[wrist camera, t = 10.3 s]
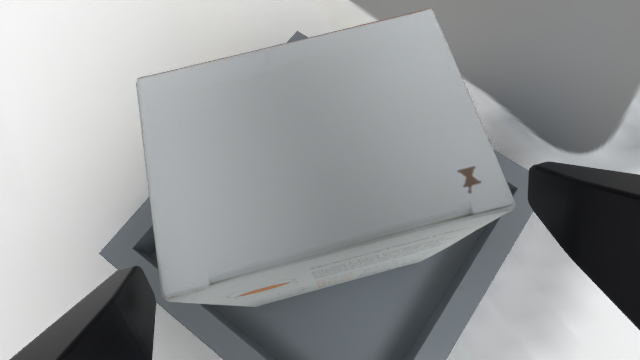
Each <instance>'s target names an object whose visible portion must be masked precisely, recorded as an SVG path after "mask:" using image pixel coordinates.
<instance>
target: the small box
mask: <svg viewBox="0 0 640 360" xmlns="http://www.w3.org/2000/svg"><path fill="white" fill-rule="evenodd" d="M136 86H137V94H138V103H139V112H140V120H141V129H142V138H143V146H144V154H145V163H146V171H147V180H148V188H149V197H150V205H151V214H152V222H153V230H154V238H155V246H156V254H157V262H158V270H159V278H160V288H161V295H162V298H163V299H164V300H165V301H168V302H182V303H196V304H211V305H230V306H246V307H258V306H261V305H265V304H268V303H272V302H275V301H279V300H283V299H286V298H290V297H293V296H297V295H301V294H304V293H308V292H312V291H315V290H319V289H323V288H326V287H330V286H333V285H337V284H341V283H344V282H348V281H352V280H355V279H359V278H363V277H366V276H370V275H374V274H377V273H381V272H384V271H388V270H392V269H395V268H399V267H403V266H406V265H411V264H415V263H419V262H421V261H423V260H425V259H427V258H429V257H431V256H433V255H434V254H436V253H438V252H440V251H441V250H443V249H445V248H447V247H449V246H451V245H452V244H454V243H456V242H457V241H459V240H461V239H462V238H464V237H466V236H467V235H469V234H471V233H472V232H474V231H475V230H477V229H479V228H481V227H483V226H485V225H487V224H488V223H490V222H492V221H494V220H495V219H497V218H499V217H501V216H502V215H504V214H506V213H508V212H510V211H512V210H514V209H515V207H516V202H515V200H514V198H513V196H512V194H511V191H510V189H509V186H508V184H507V182H506V179H505V177H504V175H503V172H502V170H501V167H500V165H499V162H498V160H497V157H496V155H495V153H494V151H493V149H492V146H491V144H490V141H489V139H488V137H487V134H486V132H485V130H484V127H483V125H482V123H481V120H480V118H479V116H478V113H477V111H476V109H475V106H474V104H473V102H472V99H471V97H470V95H469V93H468V90H467V88H466V86H465V83H464V81H463V79H462V76H461V74H460V72H459V69H458V67H457V65H456V63H455V60H454V57H453V55H452V53H451V50H450V48H449V46H448V44H447V41H446V39H445V37H444V35H443V32H442V31H441V29H440V26H439V24H438V22H437V20H436V17H435V14H434V12H433V10H431V9H425V10H421V11H418V12H414V13H410V14H405V15H402V16H398V17H393V18H389V19H385V20H381V21H376V22H372V23H368V24H363V25H359V26H356V27H352V28H348V29H343V30H339V31H335V32H331V33H327V34H323V35H318V36H314V37H310V38H306V39H302V40H298V41H294V42H290V43H285V44H281V45H276V46H272V47H269V48H264V49H260V50H256V51H252V52H248V53H243V54H239V55H235V56H231V57H226V58H222V59H218V60H213V61H209V62H205V63H201V64H197V65H193V66H189V67H184V68H180V69H176V70H172V71H167V72H163V73H159V74H154V75H150V76H145V77H141V78H138V80H137V82H136Z"/></svg>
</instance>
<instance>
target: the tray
mask: <svg viewBox="0 0 640 360" xmlns="http://www.w3.org/2000/svg"><path fill="white" fill-rule="evenodd" d="M306 38H308V37H306V36H305V35H303V34H301V33H300V32H298V31H297V32H296V33H295V34H294V35H293V36H292V38H291V39H290V40H289V41H288V42H287V43H290V42H294V41H298V40H302V39H306ZM493 151H494V153H495V155H496V157H497V160H498V162H499V165H500V167H501V170H502V172H503V175H504V177H505V179H506V182H507V184H508V186H509V189H510V191H511V194H512V196H513V198H514V200H515V202H516V207H515V209H514V210H512V211H510V212H508V213H506V214H504V215H502V216H501V217H499V218H497V219H495V220H494V221H492V222H490V223H488V224H487V225H485V226H483V227H481V228H479V229H477V230H475V231H474V232H472V233H471V234H469V235H467V236H466V237H464V238H462V239H461V240H459V241H457V242H456V243H454V244H452V245H451V246H449V247H447V248H445V249H443V250H441V251H440V252H438V253H436V254H434V255H433V256H431V257H429V258H427V259H425V260H423V261H421V262H419V263H415V264H411V265H406V266H403V267H399V268H395V269H392V270H388V271H384V272H381V273H377V274H374V275H370V276H366V277H363V278H359V279H355V280H352V281H348V282H344V283H341V284H337V285H333V286H330V287H326V288H323V289H319V290H315V291H312V292H308V293H304V294H301V295H297V296H293V297H290V298H286V299H283V300H279V301H275V302H272V303H268V304H265V305H261V306H258V307H246V306H230V305H211V304H196V303H182V302H168V301H165V300H164V299H163V298H162V295H161V288H160V278H159V270H158V262H157V254H156V246H155V238H154V230H153V222H152V214H151V205H150V197H149V198H148V199H147V200H146V201H145V203H144V204H143V205H142V206H141V207H140V208H139V209H138V210H137V212H136V213H135V214H134V215H133V216H132V217H131V218H130V219H129V220H128V222H127V223H126V224H125V225H124V226H123V227H122V228H121V229H120V231H119V232H118V233H117V234H116V235H115V236H114V237H113V238H112V240H111V241H110V242H109V243H108V244H107V245H106V246H105V247H104V249H103V250H102V251H101V252H100V253H99V254H100V255H101V256H103V257H104V258H105V259H106V260H107V261H109V262H110V263H111V264H112V265H113V266H114V267H116V268H117V269H118V270H119V269H122V268H126V267H130V266H134V265H138V266H140V267H141V268H142V269H143V271H144V273H145V275H146V277H147V279H148V281H149V284H150V286H151V288H152V290H153V292H154V294H155V298H156V302H157V303H158V304H159V305H160V306H161V307H163V308H164V309H165V310H166V311H167V312H168V313H170V314H171V315H172V316H173V317H174V318H175V319H177V320H178V321H179V322H180V323H181V324H182V325H184V326H185V327H186V328H187V329H188V330H190V331H191V332H192V333H193V334H194V335H195V336H197V337H198V338H199V339H200V340H201V341H202V342H204V343H205V344H206V345H207V346H208V347H209V348H211V349H212V350H213V351H214V352H215V353H217V354H218V355H219V356H220V357H221V358H222V359H224V360H446V359H447V357H448V355H449V354H450V352H451V350H452V348H453V347H454V345H455V343H456V342H457V340H458V338H459V337H460V335H461V333H462V331H463V330H464V328H465V326H466V325H467V323H468V321H469V320H470V318H471V316H472V314H473V313H474V311H475V309H476V308H477V306H478V304H479V302H480V301H481V299H482V297H483V296H484V294H485V292H486V291H487V289H488V287H489V285H490V284H491V282H492V280H493V279H494V277H495V275H496V274H497V272H498V270H499V268H500V267H501V265H502V263H503V262H504V260H505V258H506V257H507V255H508V253H509V251H510V250H511V248H512V246H513V245H514V243H515V241H516V240H517V238H518V236H519V234H520V233H521V231H522V229H523V228H524V226H525V224H526V222H527V221H528V219H529V217H530V216H531V214H532V212H533V210H532V208H531V207H530V205H529V202H528V174H529V171H528V170H526V169H525V168H523V167H521V166H520V165H518V164H516V163H515V162H513V161H511V160H510V159H508V158H506V157H505V156H503V155H501V154H500V153H498V152H496V151H495V150H493Z"/></svg>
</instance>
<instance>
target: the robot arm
mask: <svg viewBox="0 0 640 360" xmlns="http://www.w3.org/2000/svg"><path fill="white" fill-rule="evenodd" d="M528 202H529V205H530V207H531V208H532V210H533V211H534V212H535V213H536V215H537V216H538V217H539V219H540V220H541V221H542V223H543V224H544V225H545V226H546V228H547V229H548V230H549V232H550V233H551V234H552V235H553V237H554V238H555V239H556V241H557V242H558V243H559V244H560V246H561V247H562V248H563V249H564V251H565V252H566V253H567V254H568V255H569V257H570V258H571V259H572V260H573V261H574V262H575V263H576V264H577V265H578V266H579V267H580V269H581V270H582V271H583V272H584V273H585V274H586V275H587V276H588V277H589V278H590V279H591V280H592V281H593V282H594V283H595V284H596V285H597V286H598V287H599V288H600V289H601V290H602V291H603V292H604V294H605V295H606V296H607V297H608V298H609V299H610V300H611V301H612V302H613V303H614V304H615V305H616V306H617V307H618V308H619V309H620V310H621V311H622V312H623V313H624V314H625V315H626V316H627V318H628V319H629V320H630V321H631V322H632V323H633V324H634V325H635V326H636V327H637V328H638V329H639V330H640V175H637V174H631V173H624V172H617V171H610V170H603V169H597V168H590V167H583V166H576V165H569V164H563V163H556V162H544V163H540V164H536V165H533V166H532V167H531V168H530V170H529V174H528ZM155 311H156V298H155V294H154V292H153V290H152V288H151V286H150V284H149V281H148V279H147V277H146V275H145V273H144V271H143V269H142V268H141V267H140V266H138V265H134V266H130V267H126V268H122V269H119V270H117V271H116V272H115V273H114V274H112V275H111V276H110V277H109V278H108V279H106V280H105V281H104V282H103V283H102V284H100V285H99V286H98V287H97V288H96V289H94V290H93V291H92V292H91V293H90V294H88V295H87V296H86V297H85V298H83V299H82V300H81V301H80V302H79V303H77V304H76V305H75V306H74V307H73V308H71V309H70V310H69V311H68V312H67V313H65V314H64V315H63V316H62V317H61V318H59V319H58V320H57V321H56V322H54V323H53V324H52V325H51V326H50V327H48V328H47V329H46V330H45V331H44V332H42V333H41V334H40V335H39V336H38V337H36V338H35V339H34V340H33V341H32V342H30V343H29V344H28V345H27V346H25V347H24V348H23V349H22V350H21V351H19V352H18V353H17V354H16V355H15V356H13V357H12V358H11V359H10V360H152V352H153V338H154V325H155Z"/></svg>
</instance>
